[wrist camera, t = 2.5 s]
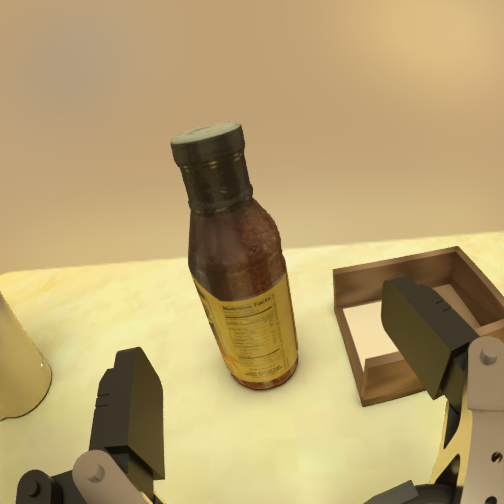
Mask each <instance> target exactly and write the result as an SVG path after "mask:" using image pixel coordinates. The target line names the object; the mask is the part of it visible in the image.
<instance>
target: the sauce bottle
mask: <svg viewBox="0 0 504 504" xmlns="http://www.w3.org/2000/svg"><path fill="white" fill-rule="evenodd" d="M171 148H172V152H173V157H174V161H175V162H176V164H177V166H178V167H180V170H181V173H182V177H183V181H184V184H185V187H186V190H187V194H188V199H189V201H188V204H189V207H190V209H191V214H190V231H189V249H188V250H189V251H188V266H189V269H190V272H191V275H192V278H193V281H194V283H195V286H196V289H197V291H198V294H199V297H200V299H201V302H202V305H203V307H204V310H205V313H206V315H207V318H208V320H209V324H210V326H211V329H212V331H213V333H214V336H215V339H216V341H217V344H218V346H219V349H220V351H221V354H222V356H223V359H224V361H225V364H226V366H227V368H228V369H229V371H230V372H231V374H232V376H233V377H234V378H235V379H236V380H238V381H239V382H240V383H242V384H243V385H246V386H248V387H250V388H254V389H265V388H270V387H275V386H277V385H279V384H282V383H284V382H286V380H287V379H288V378H289V377H290V376H291V375H292V373H293V371H294V370H295V367H296V365H297V362H298V353H297V350H298V342H297V334H296V327H295V320H294V313H293V307H292V300H291V294H290V287H289V280H288V274H287V268H286V262H285V258H284V256H283V255H282V249H281V239H280V235H279V231H278V229H277V226H276V224H275V221H274V220H273V219H272V217H271V216H270V215H269V214H268V213H267V211H266V210H265V209H263V208H262V206H260V204H259V203H258V202H257V201H256V200H255V199H254V198H252V195H253V187H252V185H251V184H250V181H249V176H248V171H247V166H246V161H245V156H244V148H245V141H244V135H243V131H242V126H241V124H239V123H237V122H224V123H218V124H212V125H208V126H204V127H200V128H196V129H194V130H191V131H188V132H185V133H182V134H179V135H177V136H175V137H174V138H173V139H172V140H171Z"/></svg>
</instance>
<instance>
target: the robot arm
mask: <svg viewBox="0 0 504 504" xmlns="http://www.w3.org/2000/svg"><path fill="white" fill-rule="evenodd" d="M381 322H382V325H383V328H384V330H385V332H386V334H387V335H388V336H389V338H390V339H391V340H392V342H393V343H394V345H395V346H396V347H397V349H398V350H399V352H400V353H401V354H402V356H403V357H404V359H405V360H406V361H407V363H408V364H409V366H410V367H411V369H412V370H413V372H414V373H415V374H416V376H417V377H418V379H419V380H420V382H421V383H422V385H423V386H424V388H425V389H426V390H427V392H428V393H429V395H430V396H431V398H432V399H433V400H435V399H437V398H439V397H441V396H442V395H445V396H446V398H447V399H448V401H447V403H446V409H445V417H444V425H443V431H442V438H441V444H440V450H439V454H438V457H437V460H436V463H435V465H434V468H433V470H432V474H431V477H430V481H429V484H423V485H416V486H414V485H413V483H412V481H411V480H409V481H407V482H405V483H403V484H401V485H399V486H397V487H394V488H392V489H390V490H388V491H385V492H383V493H381V494H378V495H376V496H374V497H372V498H371V499H369V500H368V501H367V502H365V503H364V504H504V343H503V342H502V341H500V340H499V339H497V338H494V337H490V336H484V337H480V336H479V335H478V334H477V333H476V332H475V330H474V329H473V328H472V327H471V326H470V325H469V324H468V323H467V322H466V321H465V320H464V319H463V318H462V317H461V316H460V315H459V314H458V313H457V312H456V311H455V310H454V309H452V307H451V306H450V305H449V304H448V303H447V302H446V301H444V299H443V298H442V297H441V296H440V295H439V294H438V293H437V292H436V291H435V290H434V289H432V288H430V287H428V286H426V285H424V284H419V285H417V284H416V283H415V282H414V281H413V280H412V279H411V278H410V277H409V276H408V275H406V274H402V275H399V276H396V277H393V278H390V279H387V280H385V281H384V282H383V286H382V303H381ZM50 382H51V369H50V366H49V365H48V363H47V362H46V360H45V359H44V358H43V356H42V354H41V353H40V352H39V350H38V349H37V348H36V347H35V345H34V344H33V342H32V341H31V339H30V338H29V337H28V335H27V334H26V332H25V331H24V329H23V328H22V326H21V325H20V323H19V321H18V320H17V318H16V317H15V315H14V314H13V312H12V310H11V309H10V307H9V305H8V304H7V302H6V300H5V299H4V297H3V295H2V294H1V292H0V420H2V419H4V418H6V417H18V416H21V415H23V414H26V413H27V412H29V411H30V410H32V409H33V408H34V407H35V406H36V405H37V404H38V403H39V402H40V401H41V400H42V399H43V397H44V395H45V394H46V392H47V390H48V388H49V385H50ZM97 396H98V398H97V399H96V405H95V407H96V409H95V411H94V417H93V424H92V430H91V438H90V445H89V451H88V452H86V453H84V454H82V455H81V456H80V457H79V458H78V459H77V461H76V462H75V464H74V466H73V470H70V471H67V472H64V473H62V474H58V475H55V476H52V477H50V476H48V475H47V474H45V473H44V472H42V471H40V470H31V471H28V472H27V473H25V474H24V475H23V476H22V478H21V479H20V481H19V484H18V488H17V496H16V504H166V503H165V502H164V501H163V500H162V499H161V498H160V497H159V496H158V495H157V493H156V492H155V491H154V488H153V480H162V479H165V469H164V438H163V389H162V385H161V381H160V379H159V377H158V375H157V373H156V372H155V370H154V368H153V367H152V365H151V363H150V362H149V360H148V358H147V356H146V355H145V353H144V351H143V350H142V348H140V347H135V348H131V349H126V350H121V351H118V352H117V353H116V357H115V363H114V368H111V369H107V371H106V372H105V374H104V375H103V377H102V379H101V380H100V382H99V388H98V393H97Z"/></svg>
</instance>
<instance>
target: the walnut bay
mask: <svg viewBox="0 0 504 504" xmlns="http://www.w3.org/2000/svg"><path fill="white" fill-rule="evenodd" d="M402 274H406V275H408V276H409V277H410V278H411V279H412V280H413V281H414V282H415V283H416V284H417V285H419V284H424V285H426V286H428V287H430V288H432V289H434V290H435V291H436V292H437V293H438V294H439V295H440V296H441V297H442V298H443V299H444V301H446V302H447V303H448V304H449V305H450V306H451V307H452V309H454V310H455V311H456V312H457V313H458V314H459V315H460V316H461V317H462V318H463V319H464V320H465V321H466V322H467V323H468V324H469V325H470V326H471V327H472V328H473V329H474V330H475V332H476V333H477V334H478V335H479V336H480V337H484V336H490V337H494V338H497V339H499V340H500V341H502V342H503V343H504V297H503V295H502V294H501V293H500V292H499V291H498V289H497V288H496V287H495V286H494V285H493V284H492V282H491V281H490V280H489V279H488V278H487V277H486V276H485V275H484V273H483V272H482V271H481V270H480V269H479V268H478V267H477V266H476V265H475V263H474V262H473V261H472V260H471V259H470V258H469V257H468V256H467V255H466V254H465V253H464V252H463V251H462V250H461V249H460V248H459V247H458V246H455V247H450V248H445V249H440V250H435V251H430V252H425V253H420V254H415V255H410V256H404V257H399V258H394V259H388V260H383V261H377V262H372V263H366V264H361V265H355V266H350V267H344V268H338V269H333V285H334V311H335V314H336V317H337V320H338V323H339V327H340V330H341V333H342V336H343V340H344V343H345V346H346V350H347V353H348V356H349V360H350V363H351V367H352V370H353V374H354V377H355V381H356V384H357V388H358V392H359V395H360V399H361V403H362V406H363V407H365V406H369V405H374V404H378V403H382V402H386V401H390V400H394V399H397V398H401V397H405V396H408V395H412V394H415V393H418V392H422V391H425V390H426V389H425V388H424V386H423V385H422V383H421V382H420V380H419V379H418V377H417V376H416V374H415V373H414V372H413V370H412V369H411V367H410V366H409V364H408V363H407V361H406V360H405V359H404V357H403V356H402V354H401V353H400V352H399V350H398V349H397V347H396V346H395V345H394V343H393V342H392V340H391V339H390V338H389V336H388V335H387V334H386V332H385V330H384V328H383V325H382V322H381V303H382V286H383V282H384V281H385V280H387V279H390V278H393V277H396V276H399V275H402Z"/></svg>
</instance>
